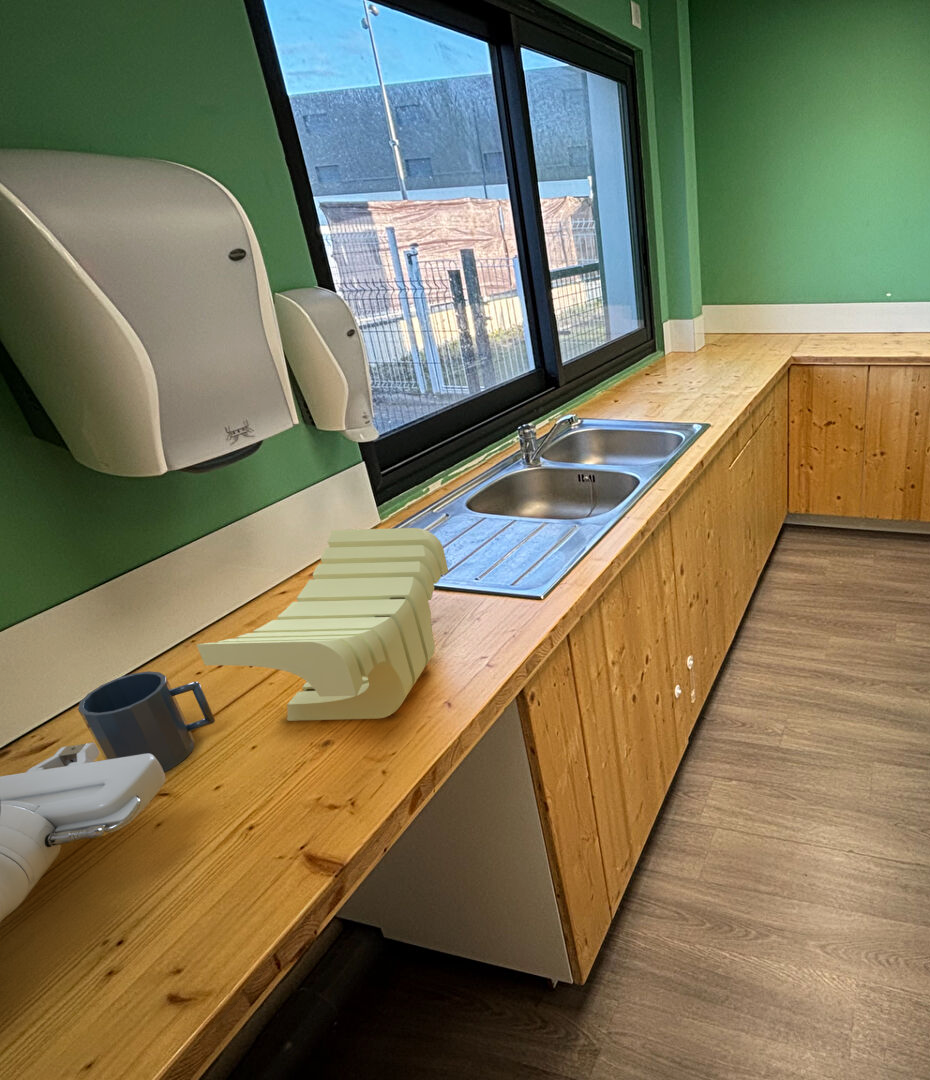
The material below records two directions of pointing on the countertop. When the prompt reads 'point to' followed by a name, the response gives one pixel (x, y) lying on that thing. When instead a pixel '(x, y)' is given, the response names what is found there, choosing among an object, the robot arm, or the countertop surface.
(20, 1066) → the countertop surface
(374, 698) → the slatted lounge chair
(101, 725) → the mug
